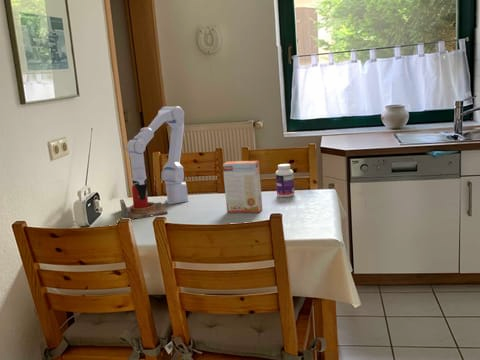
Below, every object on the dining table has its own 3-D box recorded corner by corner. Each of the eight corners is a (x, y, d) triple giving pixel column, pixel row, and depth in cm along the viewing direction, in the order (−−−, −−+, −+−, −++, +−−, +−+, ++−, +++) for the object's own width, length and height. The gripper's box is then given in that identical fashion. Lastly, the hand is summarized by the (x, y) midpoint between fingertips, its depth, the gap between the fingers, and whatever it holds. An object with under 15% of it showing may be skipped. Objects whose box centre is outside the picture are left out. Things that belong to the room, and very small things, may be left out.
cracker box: (262, 209, 211) (259, 160, 207) (258, 213, 206) (254, 162, 202) (231, 208, 216) (227, 160, 212) (226, 212, 211) (222, 163, 206)
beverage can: (144, 212, 218) (142, 185, 216) (131, 211, 220) (129, 184, 217) (150, 208, 224) (148, 181, 222) (137, 207, 226) (135, 181, 223)
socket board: (160, 204, 233) (159, 193, 232) (167, 213, 217) (166, 202, 216) (121, 210, 228) (119, 199, 227) (125, 220, 212) (123, 209, 210)
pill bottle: (274, 195, 233) (272, 164, 230) (291, 192, 235) (289, 162, 232) (280, 199, 225) (278, 167, 222) (297, 196, 227) (295, 165, 224)
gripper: (127, 166, 224) (131, 195, 227) (130, 171, 210) (134, 202, 213) (143, 164, 226) (146, 193, 229) (147, 169, 212) (151, 200, 215)
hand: (141, 197), depth 221 cm, fingers closed on beverage can, 6 cm apart
